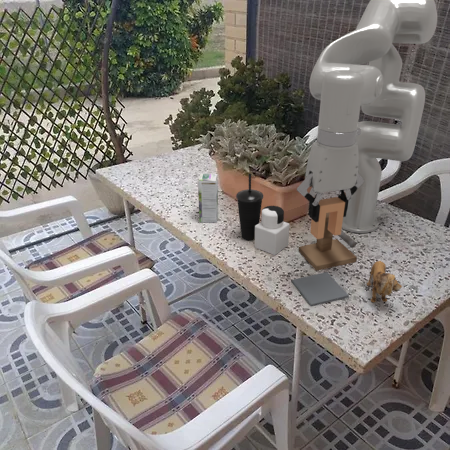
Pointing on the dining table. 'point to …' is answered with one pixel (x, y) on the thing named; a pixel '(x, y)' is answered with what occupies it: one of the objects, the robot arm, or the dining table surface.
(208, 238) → the dining table surface
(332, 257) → the stand
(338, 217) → the c link
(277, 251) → the medicine bottle
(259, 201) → the drinking cup
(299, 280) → the slate mat
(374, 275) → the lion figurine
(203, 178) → the syrup box
